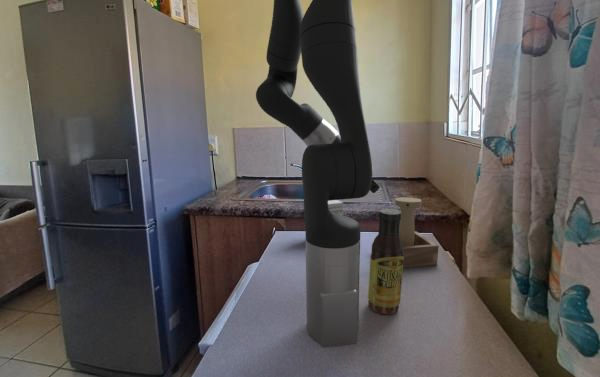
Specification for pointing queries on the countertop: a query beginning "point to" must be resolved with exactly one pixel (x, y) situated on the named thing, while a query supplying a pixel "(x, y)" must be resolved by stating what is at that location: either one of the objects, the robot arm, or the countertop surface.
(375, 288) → the sauce bottle
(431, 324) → the countertop surface
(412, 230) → the handle
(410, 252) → the open wooden box
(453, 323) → the countertop surface
